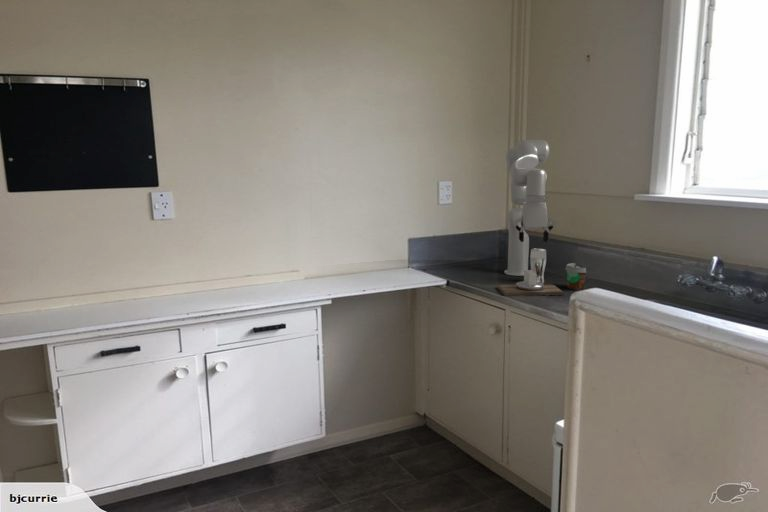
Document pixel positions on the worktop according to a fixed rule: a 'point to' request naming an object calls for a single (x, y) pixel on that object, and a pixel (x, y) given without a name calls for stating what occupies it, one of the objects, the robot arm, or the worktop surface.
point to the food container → (575, 276)
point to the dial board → (514, 291)
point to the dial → (529, 281)
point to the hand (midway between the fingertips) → (533, 241)
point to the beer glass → (538, 263)
